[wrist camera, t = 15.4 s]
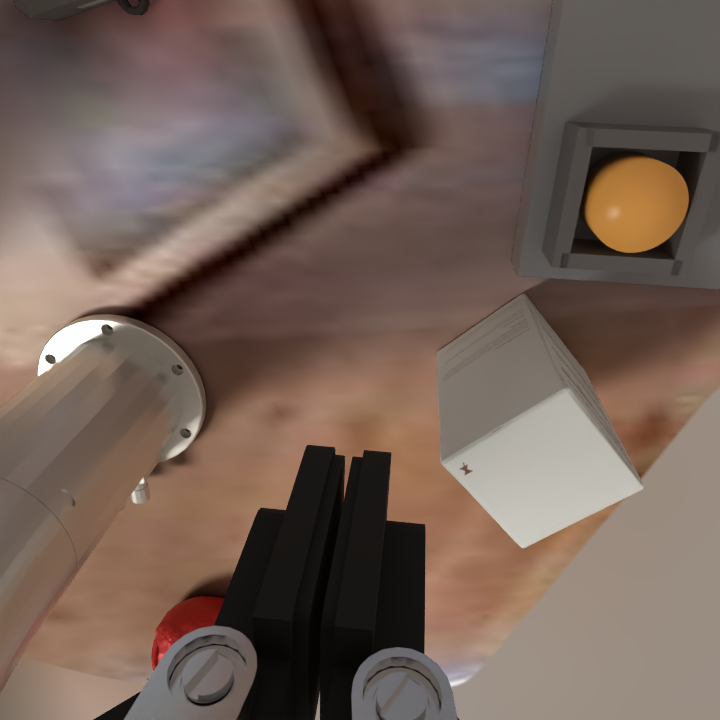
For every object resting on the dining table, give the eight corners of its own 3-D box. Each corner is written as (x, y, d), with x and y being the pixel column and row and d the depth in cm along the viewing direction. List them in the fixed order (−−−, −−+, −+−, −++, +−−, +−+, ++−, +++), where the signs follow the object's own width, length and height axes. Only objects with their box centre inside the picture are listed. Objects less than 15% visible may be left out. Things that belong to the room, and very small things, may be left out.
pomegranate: (246, 573, 52) (214, 667, 44) (282, 647, 56) (259, 746, 48) (149, 587, 54) (101, 680, 46) (190, 658, 58) (153, 755, 50)
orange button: (652, 239, 31) (673, 255, 29) (569, 233, 32) (582, 249, 29) (676, 153, 29) (700, 162, 27) (587, 149, 30) (602, 157, 27)
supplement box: (495, 423, 42) (518, 554, 31) (433, 350, 40) (435, 463, 29) (587, 369, 39) (650, 492, 28) (526, 287, 37) (568, 386, 26)
